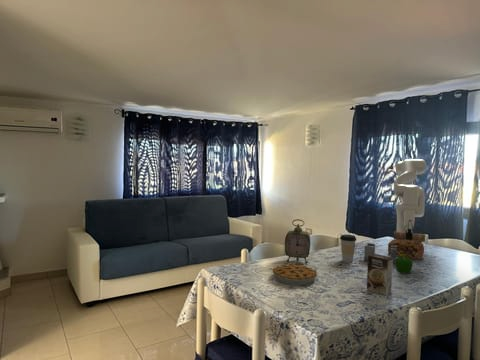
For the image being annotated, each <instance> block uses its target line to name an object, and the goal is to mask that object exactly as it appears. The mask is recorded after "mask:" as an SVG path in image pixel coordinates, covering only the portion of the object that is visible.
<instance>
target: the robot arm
mask: <svg viewBox="0 0 480 360" xmlns="http://www.w3.org/2000/svg"><path fill="white" fill-rule="evenodd" d="M427 167H428V166H427V161H425V160H424V159H423V158H422V159H420V158H414V159H413V158H409V159H408V158H407V159H404V160H403V161H399V162H396V164H395V171H396V175H397V177H396V179H395V180H394V182H393V194H394V195H395V197H398V198H399V199H400V200H402V202H398V203H396V206H395V210H396V232H405V233H406V240H412V234H413V233H414V232H413V228H414V226H415V222H416V221H415V220H416V219H415V218H423V217H424V215H425V208H426V207H425V203H426V192H425V189H424V188H423V187H420V186H419V185H417V184H414V183H413V182H414V181H416V179H417V175H424V173H426V171H427Z"/></svg>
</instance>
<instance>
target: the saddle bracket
mask: <svg viewBox="0 0 480 360" xmlns="http://www.w3.org/2000/svg"><path fill="white" fill-rule="evenodd" d="M396 250H397V246H391V253H390V254H389V255H390V256H389V257H393V266H394V265H395V266H396V263H395V262H396V258H397V256H396Z"/></svg>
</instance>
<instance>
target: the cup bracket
mask: <svg viewBox="0 0 480 360" xmlns="http://www.w3.org/2000/svg"><path fill="white" fill-rule="evenodd" d="M363 251H364V253H363V256H364V257H363V261H364V262H368V255H371V254H376V243H371V242H365V245H364V250H363Z"/></svg>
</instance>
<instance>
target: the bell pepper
mask: <svg viewBox="0 0 480 360" xmlns="http://www.w3.org/2000/svg"><path fill="white" fill-rule="evenodd" d="M401 256H403V257H401ZM395 263H396V265H395V268H396V271H397V273H400V274H407V275H408V274H410V273H411V272H412V269H413V263H414V261H413V259H410V258H407V257H405V256H404V255H403V254H399V256H397V257H396V262H395Z"/></svg>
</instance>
